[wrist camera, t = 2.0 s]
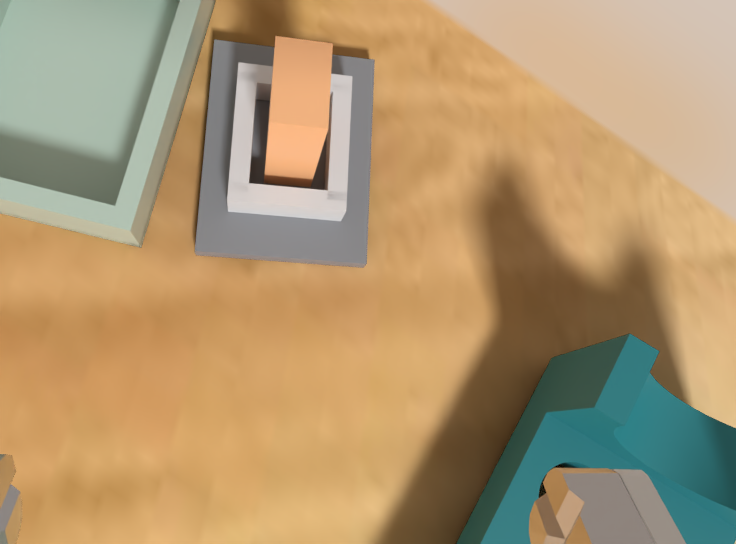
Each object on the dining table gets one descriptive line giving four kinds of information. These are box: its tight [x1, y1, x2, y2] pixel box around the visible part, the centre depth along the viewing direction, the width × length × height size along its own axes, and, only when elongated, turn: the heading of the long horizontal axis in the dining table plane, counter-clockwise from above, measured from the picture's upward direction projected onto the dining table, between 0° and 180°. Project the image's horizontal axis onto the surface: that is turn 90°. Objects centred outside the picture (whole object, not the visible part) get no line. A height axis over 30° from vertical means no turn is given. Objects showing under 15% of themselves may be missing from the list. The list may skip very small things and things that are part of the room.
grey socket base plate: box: [195, 39, 374, 268], centre depth 36 cm, size 9×12×3 cm
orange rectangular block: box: [264, 36, 333, 187], centre depth 33 cm, size 2×4×8 cm, turn 177°
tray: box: [0, 0, 215, 247], centre depth 34 cm, size 11×15×4 cm
